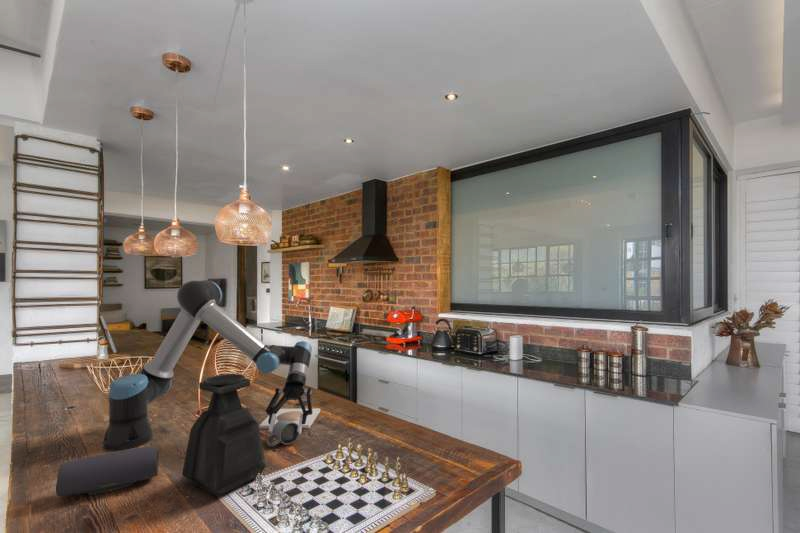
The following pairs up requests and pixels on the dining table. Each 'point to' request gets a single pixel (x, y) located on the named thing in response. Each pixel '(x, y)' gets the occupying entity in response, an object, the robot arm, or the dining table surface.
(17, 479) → the dining table surface
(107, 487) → the bluetooth speaker
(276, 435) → the ceramic mug
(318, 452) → the dining table surface
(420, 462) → the dining table surface
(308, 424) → the charging plate
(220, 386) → the bottle
